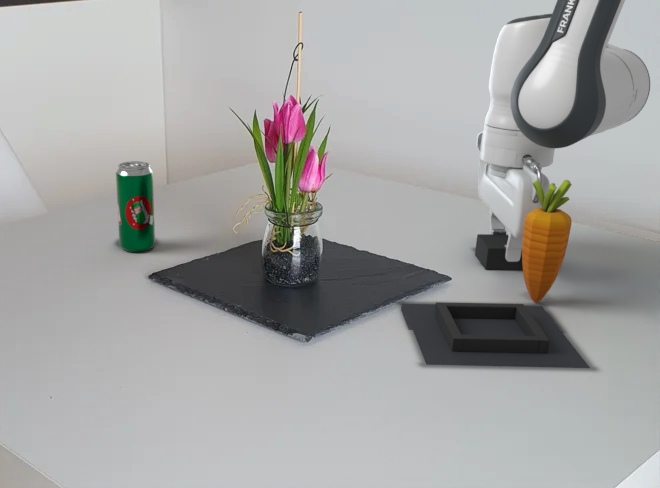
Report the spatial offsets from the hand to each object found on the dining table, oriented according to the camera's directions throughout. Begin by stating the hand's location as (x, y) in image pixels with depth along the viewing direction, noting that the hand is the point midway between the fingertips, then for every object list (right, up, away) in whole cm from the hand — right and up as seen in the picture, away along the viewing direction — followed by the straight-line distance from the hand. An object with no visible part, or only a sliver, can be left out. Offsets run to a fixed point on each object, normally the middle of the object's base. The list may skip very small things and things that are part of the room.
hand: (503, 250), depth 112 cm
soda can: (-50, +1, +7) cm, 50 cm away
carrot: (-1, -7, -12) cm, 14 cm away
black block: (0, -2, +1) cm, 2 cm away
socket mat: (-10, -11, -22) cm, 26 cm away
